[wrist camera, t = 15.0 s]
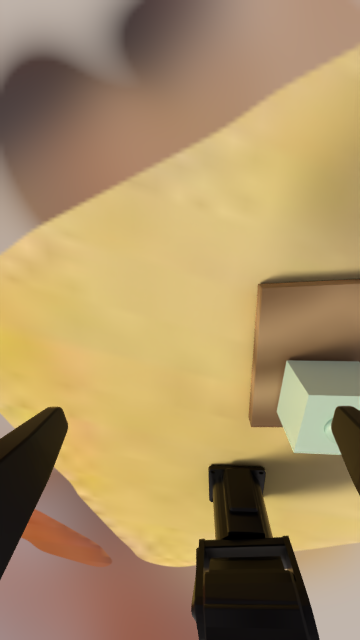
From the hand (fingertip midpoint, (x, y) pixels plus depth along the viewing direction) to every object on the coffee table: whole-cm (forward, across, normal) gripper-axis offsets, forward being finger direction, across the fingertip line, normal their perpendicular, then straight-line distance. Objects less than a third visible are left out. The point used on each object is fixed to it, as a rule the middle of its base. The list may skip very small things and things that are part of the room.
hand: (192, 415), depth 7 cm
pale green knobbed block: (+10, -10, +8) cm, 17 cm away
